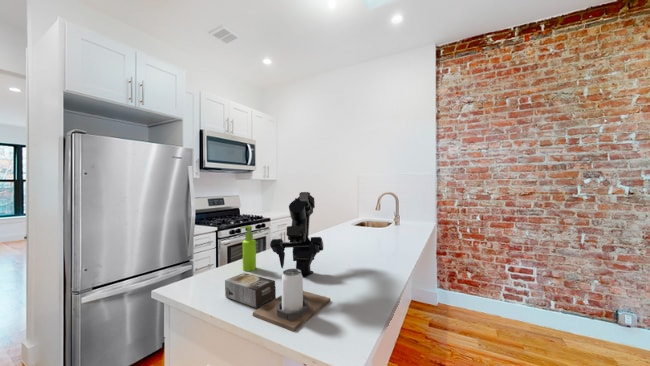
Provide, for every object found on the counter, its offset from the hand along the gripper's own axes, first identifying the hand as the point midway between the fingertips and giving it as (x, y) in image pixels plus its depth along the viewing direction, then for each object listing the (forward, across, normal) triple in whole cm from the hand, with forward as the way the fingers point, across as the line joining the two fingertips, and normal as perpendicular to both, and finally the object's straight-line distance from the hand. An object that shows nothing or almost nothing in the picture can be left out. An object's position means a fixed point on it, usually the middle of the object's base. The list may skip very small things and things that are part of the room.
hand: (295, 267), depth 87 cm
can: (+13, 0, +1) cm, 13 cm away
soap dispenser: (-12, -30, +28) cm, 43 cm away
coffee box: (+2, -24, +8) cm, 26 cm away
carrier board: (+12, 0, +4) cm, 12 cm away
